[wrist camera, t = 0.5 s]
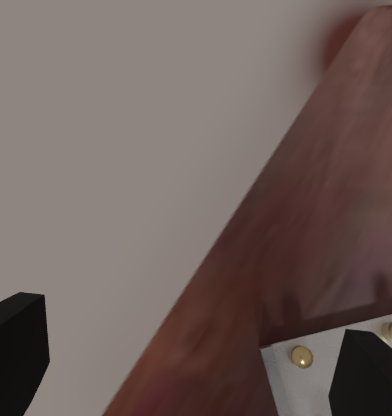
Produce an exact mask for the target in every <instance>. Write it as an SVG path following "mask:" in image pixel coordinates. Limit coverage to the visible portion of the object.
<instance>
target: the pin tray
mask: <svg viewBox="0 0 392 416" xmlns="http://www.w3.org/2000/svg"><path fill="white" fill-rule="evenodd" d="M345 329H353V330H362V331H370V332H373V333H375V334H376V335H377V336H378V337H380V338H381V339H382V340H383V341H384V342H385V343H387V344H388V345H389V346H390V347H391V348H392V314H388V315H384V316H380V317H376V318H372V319H368V320H364V321H360V322H356V323H352V324H348V325H344V326H340V327H336V328H332V329H328V330H324V331H320V332H316V333H312V334H308V335H304V336H300V337H296V338H292V339H288V340H285V341H281V342H277V343H273V344H269V345H265V346H261V347H259V349H260V353H261V357H262V360H263V364H264V368H265V371H266V375H267V378H268V382H269V386H270V389H271V393H272V396H273V400H274V404H275V407H276V411H277V414H278V416H332V414H331V409H330V403H329V398H328V395H329V391H330V387H331V383H332V379H333V375H334V372H335V368H336V364H337V360H338V356H339V352H340V348H341V345H342V341H343V337H344V333H345Z"/></svg>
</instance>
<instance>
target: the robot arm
mask: <svg viewBox="0 0 392 416" xmlns="http://www.w3.org/2000/svg"><path fill="white" fill-rule="evenodd" d="M48 346H49V345H48V333H47V320H46V308H45V297H44V295H41V294H32V293H24V292H19V293H17V294H15V295H13V296H11V297H9V298H7V299H5V300H3V301H1V302H0V416H23V415H24V413H25V411H26V410H27V408H28V407H29V405H30V403H31V402H32V399H33V397H34V395H35V393H36V391H37V389H38V387H39V385H40V383H41V381H42V378H43V376H44V374H45V372H46V369H47V367H48V365H49V362H50V358H49V347H48ZM328 398H329V403H330V409H331V414H332V416H392V348H391V347H390V346H389V345H388V344H387V343H385V342H384V341H383V340H382V339H381V338H380V337H378V336H377V335H376V334H375V333H373V332H370V331H362V330H353V329H345V333H344V337H343V341H342V345H341V348H340V352H339V356H338V360H337V364H336V368H335V372H334V375H333V379H332V383H331V387H330V391H329V395H328Z"/></svg>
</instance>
